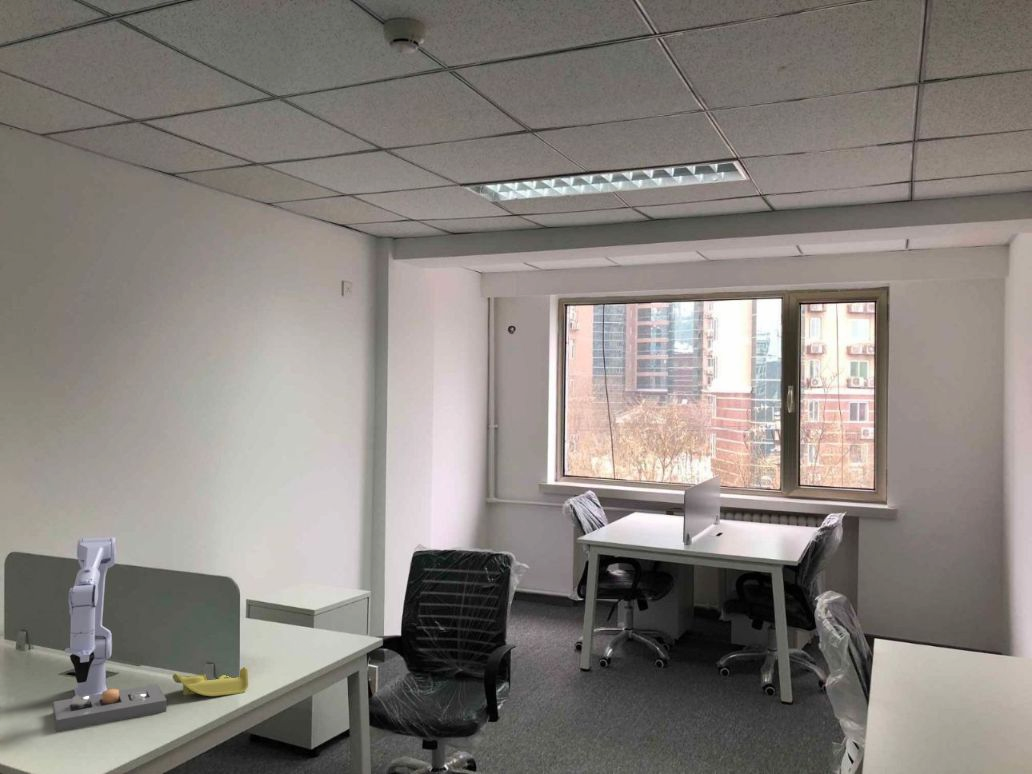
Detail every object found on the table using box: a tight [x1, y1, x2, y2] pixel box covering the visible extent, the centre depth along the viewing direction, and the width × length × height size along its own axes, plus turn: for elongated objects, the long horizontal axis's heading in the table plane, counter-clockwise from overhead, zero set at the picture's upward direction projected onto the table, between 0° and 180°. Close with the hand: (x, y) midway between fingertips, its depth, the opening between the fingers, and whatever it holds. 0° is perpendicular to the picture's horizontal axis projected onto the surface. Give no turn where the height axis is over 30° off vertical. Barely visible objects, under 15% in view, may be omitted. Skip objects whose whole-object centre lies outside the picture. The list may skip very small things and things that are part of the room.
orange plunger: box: [102, 688, 120, 703], centre depth 216 cm, size 4×4×2 cm
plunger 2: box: [131, 692, 147, 700], centre depth 220 cm, size 4×4×2 cm
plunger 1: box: [72, 694, 90, 709], centre depth 212 cm, size 4×4×2 cm
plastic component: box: [172, 666, 249, 697], centre depth 232 cm, size 20×7×10 cm
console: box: [52, 683, 168, 732], centre depth 216 cm, size 14×26×3 cm, turn 123°
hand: (81, 681), depth 212 cm, fingers closed
